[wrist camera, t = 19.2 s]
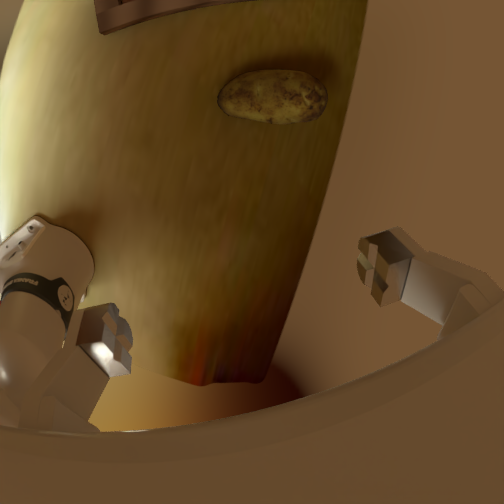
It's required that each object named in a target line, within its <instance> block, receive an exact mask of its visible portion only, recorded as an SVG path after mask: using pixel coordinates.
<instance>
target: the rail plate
mask: <svg viewBox="0 0 504 504" xmlns="http://www.w3.org/2000/svg"><path fill="white" fill-rule="evenodd" d="M122 1H123V4H122V2H121V0H94V4H95V10H96V16H97V21H98V27H99V32H100V33H101V34H103V35H107V34H109V33H112V32H115V31H117V30H120V29H123V28H126V27H129V26H132V25H135V24H138V23H141V22H144V21H147V20H151V19H154V18H158V17H161V16H165V15H169V14H173V13H177V12H182V11H186V10H191V9H196V8H201V7H207V6H213V5H219V4H226V3H234V2H244V1H255V0H122Z"/></svg>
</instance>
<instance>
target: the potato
mask: <svg viewBox="0 0 504 504" xmlns="http://www.w3.org/2000/svg"><path fill="white" fill-rule="evenodd" d="M217 98H218V100H217V103H218V105H219V107H220V108H221V109H222V110H223V111H224V113H226V114H227V115H228V116H229V115H230V116H234V117H238V118H244V119H249V120H255V121H261V122H267V123H271V124H272V123H274V124H290V123H295V122H309V121H312V120H315V119H317V118H318V117H320V115H321V114H322V113H323V111H324V110H325V107H326V104H327V101H328V94H327V90H326V88H325V87H324V85H323V84H322V83H321V82H320V81H319V80H318V79H317V78H315V77H313V76H311V75H310V74H308V73H305V72H302V71H294V70H284V69H277V70H258V71H252V72H247V73H244V74H241V75H239V76H237V77H236V78H234V79H233V80H232V81H230V82H229V83H228V84H227V85H225V86H224V87H223V88H222V89H221V90H220V92H219V95H218V97H217Z"/></svg>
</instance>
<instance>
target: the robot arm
mask: <svg viewBox="0 0 504 504" xmlns="http://www.w3.org/2000/svg"><path fill="white" fill-rule="evenodd" d="M31 226H33V228H32V227H31ZM358 248H359V250H360V251H361V254H360V255H359V257H358V258H357V270H358V274H359V276H360V279H361V280H362V282H363V284H364V285H366V286H368V287H371V295H372V296H373V298H374V299H375V301H376V302H377V303H378V305H379V306H380V307H382V306H385V305H388V304H391V303H393V302H396V301H399V300H401V301H402V302H404V303H405V304H407V305H409V306H410V307H412V308H414V309H416V310H417V311H419V312H421V313H422V314H424V315H426V316H427V317H429V318H431V319H432V320H434V321H436V322H437V323H439V324H441V325H442V328H441V330H440V332H439V335H438V337H437V340H438V341H436V342H434V343H432V344H431V345H429V346H427V347H425V348H423V349H421V350H419V351H417V352H415V353H413V354H411V355H409V356H407V357H405V358H403V359H401V360H399V361H397V362H395V363H393V364H390V365H388V366H386V367H384V368H381V369H379V370H377V371H375V372H372V373H370V374H367V375H365V376H363V377H360V378H358V379H355V380H352V381H350V382H347V383H345V384H342V385H340V386H337V387H334V388H331V389H328V390H325V391H323V392H320V393H317V394H314V395H311V396H308V397H304V398H301V399H298V400H295V401H292V402H288V403H284V404H281V405H277V406H274V407H270V408H266V409H262V410H258V411H255V412H251V413H246V414H242V415H237V416H232V417H228V418H223V419H218V420H213V421H207V422H201V423H195V424H188V425H181V426H175V427H166V428H156V429H147V430H133V431H115V432H100V430H99V429H98V428H97V427H95V426H94V425H92V424H90V423H89V422H88V419H89V418H90V415H91V414H92V411H93V409H94V408H95V406H96V404H97V402H98V400H99V398H100V396H101V394H102V392H103V390H104V388H105V387H106V384H107V383H108V381H109V379H110V378H109V377H114V376H120V375H126V374H131V360H132V357H131V356H130V354H129V353H128V352H129V350H130V349H131V347H132V345H133V337H132V332H131V329H130V326H129V324H128V323H127V321H126V320H125V319H124V318H122V317H120V316H119V309H118V308H117V306H116V305H115V304H114V303H106V304H102V305H97V306H92V307H87V308H84V309H79V310H77V308H78V306H79V304H80V302H83V301H84V299H85V296H86V288H87V286H88V284H89V283H90V281H91V280H92V277H93V274H94V263H93V259H92V256H91V254H90V252H89V250H88V248H87V247H86V245H85V244H84V243H83V242H82V241H81V240H80V239H79V238H78V237H77V236H76V235H74V234H73V233H72V232H70V231H68V230H66V229H64V228H61V227H57V226H54V225H51V224H49V223H48V222H46V221H45V220H44V219H42V218H40V217H39V216H33V217H32V218H31V219H29V220H28V221H27V222H26V223H25V224H23V225H22V226H21V227H20V228H19V229H17V230H16V231H15V232H14V233H13V234H12V235H11V236H9V237H8V238H7V239H6V240H5V241H4V242H3V243H2V244H1V245H0V293H1V295H2V296H1V301H0V504H504V291H503V290H502V289H501V288H500V287H499V286H498V285H497V284H496V283H495V282H494V281H493V280H492V279H491V277H490V276H489V275H488V274H487V273H485V272H483V271H481V270H478V269H476V268H473V267H470V266H468V265H465V264H463V263H460V262H458V261H455V260H452V259H449V258H447V257H444V256H442V255H439V254H436V253H433V252H430V251H429V252H426V251H425V250H424V249H423V248H422V247H421V246H420V245H419V244H418V243H417V242H416V241H415V240H414V239H413V238H412V237H411V236H410V235H408V234H407V233H406V232H405V231H404V230H403V229H402V228H401V227H394V228H391V229H388V230H385V231H382V232H379V233H375V234H372V235H368V236H365V237H361V238H360V240H359V244H358ZM64 340H65V342H64V346H63V348H62V345H63V341H64Z"/></svg>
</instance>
